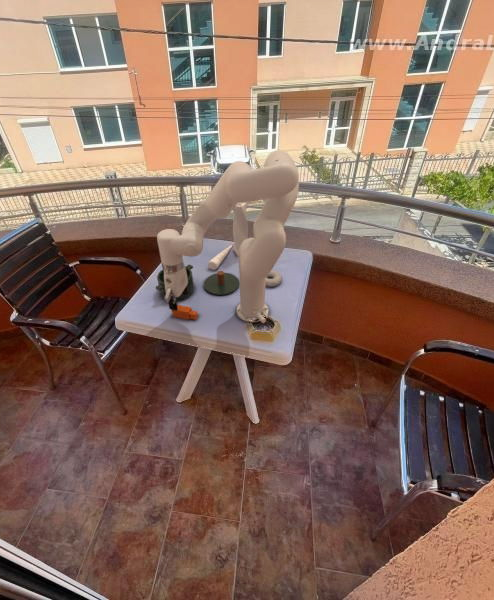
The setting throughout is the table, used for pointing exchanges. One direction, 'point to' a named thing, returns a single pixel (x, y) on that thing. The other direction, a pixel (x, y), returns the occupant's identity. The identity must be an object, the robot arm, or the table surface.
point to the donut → (275, 276)
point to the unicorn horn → (218, 259)
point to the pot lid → (221, 283)
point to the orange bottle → (185, 312)
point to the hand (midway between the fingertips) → (179, 301)
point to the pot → (163, 292)
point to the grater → (239, 225)
